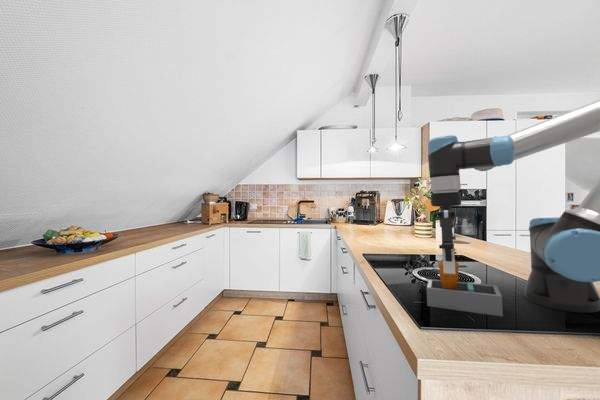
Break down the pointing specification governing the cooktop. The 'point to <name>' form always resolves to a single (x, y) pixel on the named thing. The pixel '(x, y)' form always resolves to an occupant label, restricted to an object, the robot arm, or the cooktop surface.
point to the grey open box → (466, 298)
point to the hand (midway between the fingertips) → (449, 267)
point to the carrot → (448, 276)
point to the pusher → (470, 287)
